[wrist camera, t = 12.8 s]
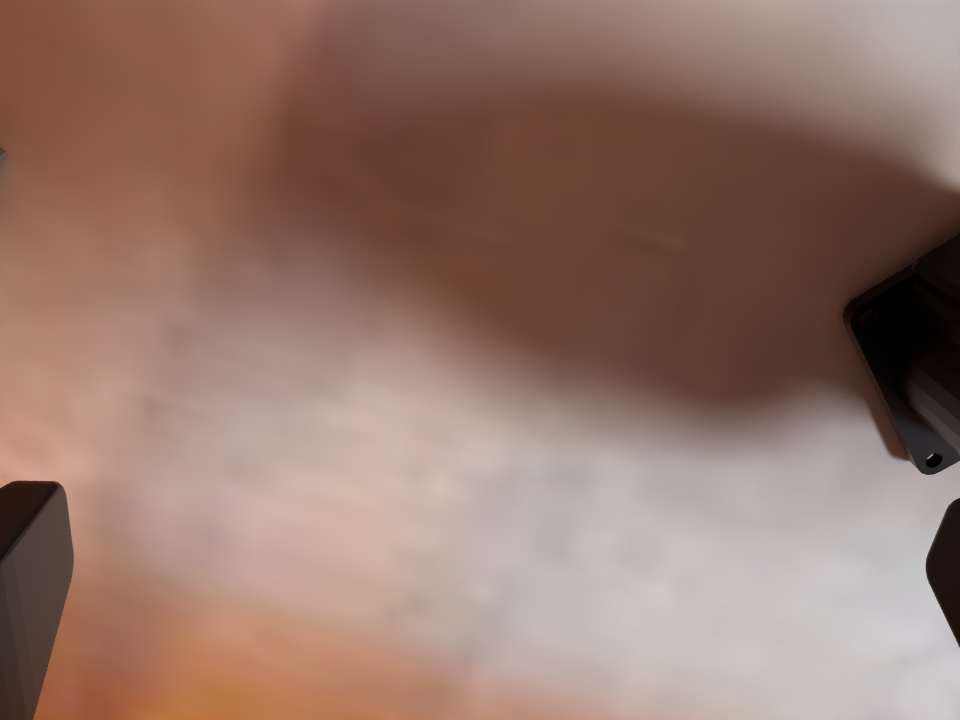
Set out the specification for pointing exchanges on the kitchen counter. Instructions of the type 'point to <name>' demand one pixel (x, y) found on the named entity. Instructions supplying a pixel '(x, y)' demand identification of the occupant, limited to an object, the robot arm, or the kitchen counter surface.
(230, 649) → the kitchen counter surface
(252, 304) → the kitchen counter surface
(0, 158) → the band mat
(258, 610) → the kitchen counter surface
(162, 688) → the kitchen counter surface
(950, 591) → the robot arm
